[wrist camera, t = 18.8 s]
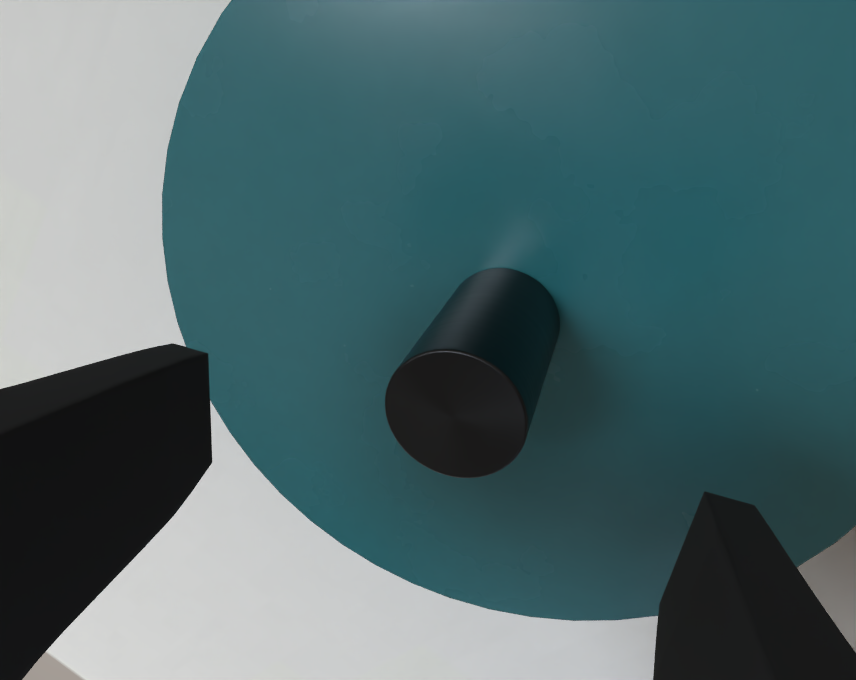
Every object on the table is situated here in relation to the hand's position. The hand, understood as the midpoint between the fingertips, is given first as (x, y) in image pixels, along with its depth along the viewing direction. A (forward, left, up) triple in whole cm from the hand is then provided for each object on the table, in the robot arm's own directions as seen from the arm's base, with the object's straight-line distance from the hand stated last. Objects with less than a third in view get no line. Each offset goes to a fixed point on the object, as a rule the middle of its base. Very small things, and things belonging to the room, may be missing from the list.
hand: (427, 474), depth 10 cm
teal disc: (0, 0, -6) cm, 6 cm away
